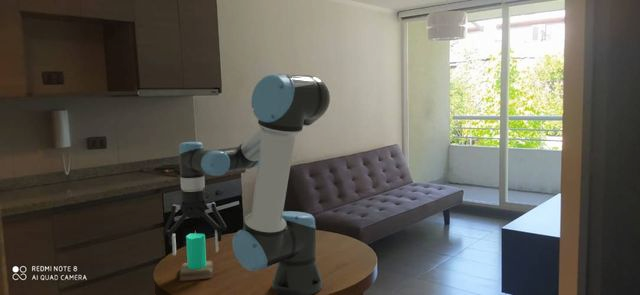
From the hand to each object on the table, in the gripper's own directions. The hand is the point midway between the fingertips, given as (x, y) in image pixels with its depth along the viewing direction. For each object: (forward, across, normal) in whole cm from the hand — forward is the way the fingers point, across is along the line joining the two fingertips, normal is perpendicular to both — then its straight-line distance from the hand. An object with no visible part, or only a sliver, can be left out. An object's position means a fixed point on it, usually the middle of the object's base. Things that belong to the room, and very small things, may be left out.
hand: (196, 252), depth 152 cm
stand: (+7, 0, 0) cm, 7 cm away
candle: (+5, 0, 0) cm, 5 cm away
